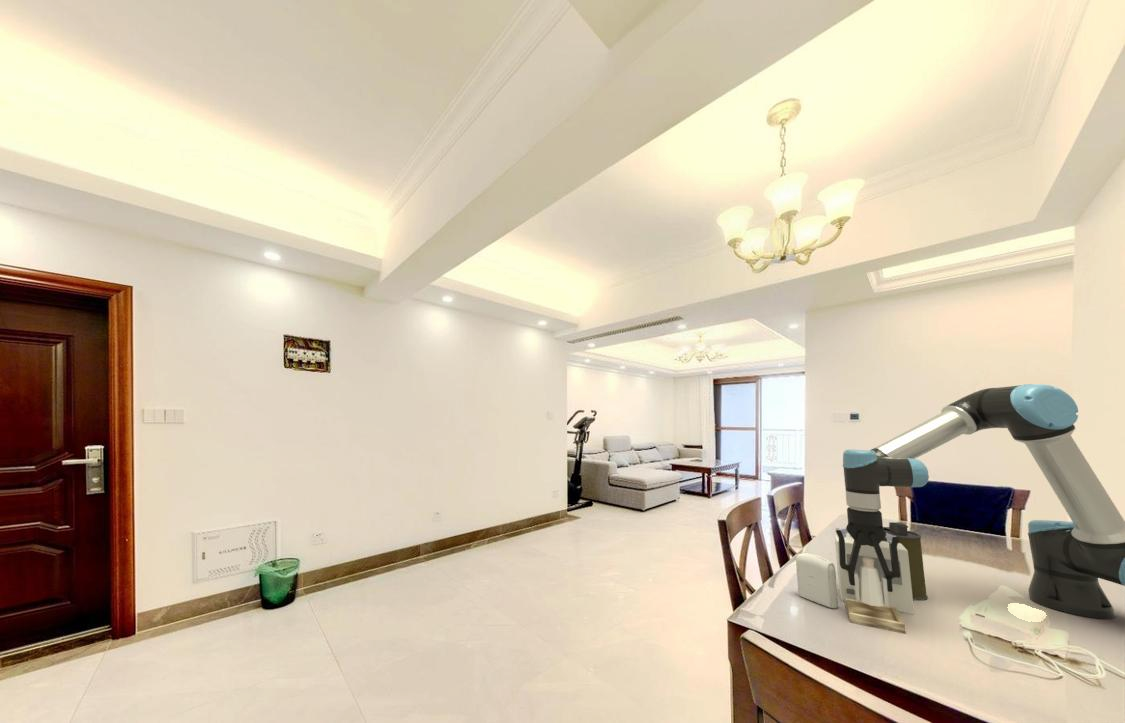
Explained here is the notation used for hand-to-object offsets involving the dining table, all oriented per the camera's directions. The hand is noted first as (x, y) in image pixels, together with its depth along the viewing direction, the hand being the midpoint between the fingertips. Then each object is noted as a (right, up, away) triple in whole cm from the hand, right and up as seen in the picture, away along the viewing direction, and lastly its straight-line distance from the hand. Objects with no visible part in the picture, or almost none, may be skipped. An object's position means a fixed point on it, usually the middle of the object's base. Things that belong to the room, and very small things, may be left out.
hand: (871, 601), depth 106 cm
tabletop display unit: (+8, -6, +10) cm, 14 cm away
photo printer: (-8, -6, +9) cm, 14 cm away
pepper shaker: (0, -1, 0) cm, 0 cm away
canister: (+22, -7, +16) cm, 29 cm away
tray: (0, -4, -1) cm, 4 cm away
